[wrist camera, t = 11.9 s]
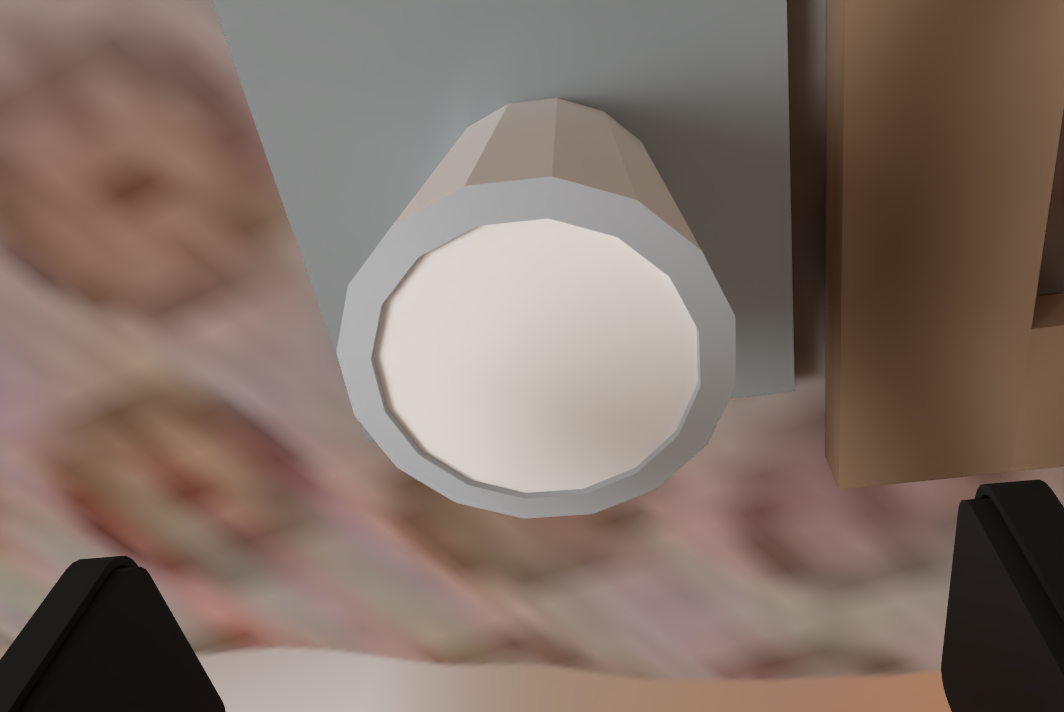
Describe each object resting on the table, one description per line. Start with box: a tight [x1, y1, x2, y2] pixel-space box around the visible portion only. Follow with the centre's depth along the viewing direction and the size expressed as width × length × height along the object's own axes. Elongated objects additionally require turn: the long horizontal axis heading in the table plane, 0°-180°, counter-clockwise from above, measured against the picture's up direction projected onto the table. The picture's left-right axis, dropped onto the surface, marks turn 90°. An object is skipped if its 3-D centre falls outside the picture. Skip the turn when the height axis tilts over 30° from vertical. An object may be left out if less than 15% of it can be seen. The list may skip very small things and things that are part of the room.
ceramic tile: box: [212, 0, 795, 442], centre depth 21 cm, size 12×12×1 cm
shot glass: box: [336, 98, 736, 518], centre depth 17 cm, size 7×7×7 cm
